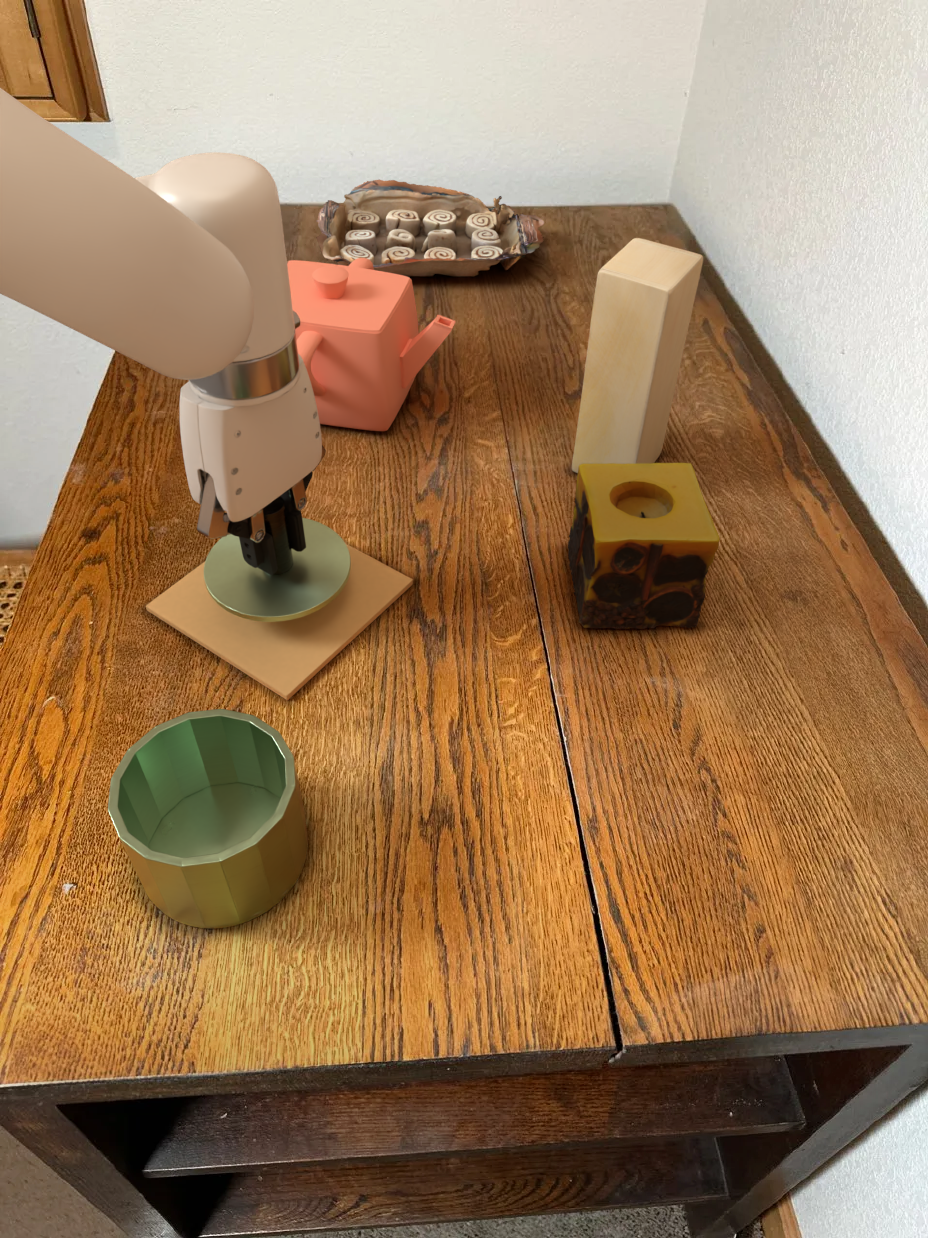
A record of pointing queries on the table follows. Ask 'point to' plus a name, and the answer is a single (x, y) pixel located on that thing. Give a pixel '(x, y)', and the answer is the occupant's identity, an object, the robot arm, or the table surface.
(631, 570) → the candle
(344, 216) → the baking tray
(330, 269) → the teapot
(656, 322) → the tall beige wooden block
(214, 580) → the lid
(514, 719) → the table surface
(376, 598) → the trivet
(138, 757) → the pot
